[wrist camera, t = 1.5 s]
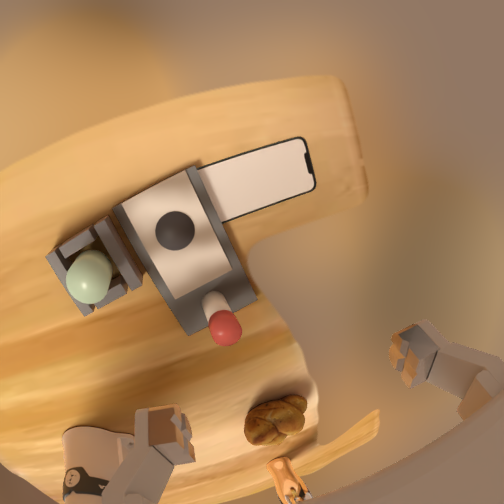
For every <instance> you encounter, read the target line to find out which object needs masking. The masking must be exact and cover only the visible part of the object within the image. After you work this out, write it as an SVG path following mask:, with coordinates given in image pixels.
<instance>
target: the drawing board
mask: <svg viewBox="0 0 504 504" xmlns="http://www.w3.org/2000/svg"><path fill="white" fill-rule="evenodd" d="M112 209H113V211H114V213H115V215H116V217H117V219H118V221H119V223H120V224H121V226H122V228H123V230H124V232H125V234H126V235H127V237H128V239H129V241H130V243H131V244H132V246H133V248H134V250H135V252H136V253H137V255H138V257H139V258H140V260H141V262H142V264H143V265H144V267H145V269H146V270H147V272H148V274H149V275H150V277H151V279H152V280H153V282H154V284H155V285H156V287H157V289H158V290H159V292H160V293H161V295H162V297H163V298H164V300H165V301H166V303H167V305H168V306H169V308H170V309H171V311H172V312H173V314H174V315H175V317H176V319H177V320H178V322H179V323H180V325H181V326H182V328H183V329H184V331H185V332H186V334H187V335H188V336H189V335H191V334H193V333H195V332H197V331H199V330H201V329H203V328H205V327H207V326H208V321H207V318H206V315H205V312H204V310H203V307H202V299H203V297H204V295H205V294H207V293H208V292H211V291H218V292H220V293H222V294H223V296H224V297H225V299H226V301H227V303H228V305H229V307H230V309H231V311H232V313H234V312H236V311H238V310H240V309H242V308H243V307H245V306H247V305H249V304H251V303H253V302H255V301H256V300H258V299H257V297H256V295H255V293H254V291H253V289H252V287H251V285H250V282H249V280H248V278H247V276H246V274H245V272H244V270H243V268H242V266H241V263H240V261H239V259H238V257H237V255H236V253H235V251H234V249H233V246H232V244H231V242H230V240H229V238H228V236H227V234H226V232H225V229H224V227H223V225H222V223H221V221H220V219H219V217H218V214H217V212H216V210H215V208H214V206H213V204H212V201H211V199H210V197H209V195H208V193H207V191H206V188H205V186H204V184H203V182H202V180H201V178H200V175H199V173H198V171H197V169H196V167H195V165H193V166H191V167H189V168H187V169H185V170H183V171H181V172H179V173H177V174H175V175H173V176H171V177H169V178H167V179H165V180H163V181H161V182H159V183H157V184H155V185H153V186H151V187H149V188H147V189H146V190H144V191H142V192H140V193H138V194H136V195H134V196H133V197H131V198H129V199H127V200H125V201H124V202H122V203H120V204H118V205H116V206H115V207H113V208H112Z"/></svg>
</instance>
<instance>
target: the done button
mask: <svg viewBox="0 0 504 504" xmlns="http://www.w3.org/2000/svg"><path fill="white" fill-rule="evenodd" d="M112 274H113V268H112V264H111V262H110V260H109V258H108V257H107V256H106V255H105V254H103V253H102V252H100V251H98V250H86V251H84V252H82V253H81V254H79V256H78V257H77V258H76V260H75V261H74V263H73V264H72V266H71V267H70V269H69V270H68V272H67V275H66V285H67V288H68V290H69V292H70V294H71V295H72V296H73V297H74V298H75V299H76V300H78V301H80V302H82V303H86V304H94V303H97V302H99V301H101V300H102V299H103V298H104V297H105V295H106V294H107V291H108V288H109V285H110V281H111V278H112Z"/></svg>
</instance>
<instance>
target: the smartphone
mask: <svg viewBox="0 0 504 504" xmlns="http://www.w3.org/2000/svg"><path fill="white" fill-rule="evenodd" d="M197 171H198V173H199V175H200V178H201V180H202V182H203V184H204V186H205V188H206V191H207V193H208V195H209V197H210V199H211V201H212V204H213V206H214V208H215V210H216V212H217V214H218V217H219V219H220V221H221V223H222V224H223V223H226V222H228V221H231V220H234V219H236V218H239V217H242V216H244V215H247V214H250V213H253V212H255V211H258V210H261V209H263V208H266V207H269V206H272V205H275V204H277V203H280V202H283V201H286V200H289V199H291V198H294V197H297V196H300V195H303V194H306V193H309V192H311V191H313V190H314V189H315V187H316V179H315V175H314V171H313V167H312V162H311V158H310V155H309V151H308V147H307V143H306V141H305V139H304V138H302V137H295V138H291V139H288V140H284V141H281V142H277V143H274V144H270V145H267V146H263V147H260V148H257V149H254V150H250V151H247V152H244V153H241V154H238V155H235V156H232V157H229V158H225V159H223V160H220V161H217V162H214V163H211V164H208V165H205V166H202V167H199V168H197Z"/></svg>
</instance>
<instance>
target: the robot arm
mask: <svg viewBox="0 0 504 504" xmlns="http://www.w3.org/2000/svg"><path fill="white" fill-rule="evenodd" d="M391 341H392V342H393V344H392V346H391V347H390V348H389V358H390V361H391V364H392V366H393V367H394V368H395V369H396V370H398V371H400V372H401V378H402V380H403V381H404V382H405V384H406V385H407V386H408V388H409V389H411V388H413V387H414V386H416V385H419V384H420V383H422V382H424V381H426V380H427V382H429V383H431V384H433V385H435V386H437V387H439V388H441V389H443V390H445V391H447V392H449V393H451V394H453V395H455V396H457V397H459V398H461V399H462V401H461V403H460V405H459V406H458V408H457V412H458V414H459V415H460V417H461V418H462V419H463V422H461V423H460V424H458V425H457V426H455V427H454V428H453V429H451V430H450V431H448V432H447V433H445V434H444V435H442V436H441V437H439V438H437V439H436V440H434V441H433V442H431V443H429V444H428V445H426V446H425V447H423V448H421V449H419V450H418V451H416V452H414V453H412V454H411V455H409V456H407V457H406V458H403V459H402V460H400V461H398V462H396V463H394V464H392V465H390V466H388V467H386V468H384V469H382V470H380V471H378V472H376V473H374V474H372V475H370V476H367V477H365V478H363V479H360V480H358V481H356V482H354V483H351V484H349V485H346V486H344V487H341V488H339V489H336V490H333V491H331V492H328V493H325V494H322V495H320V496H317V497H314V498H311V499H308V500H304V501H301V502H298V503H295V504H504V362H503V361H502V360H501V359H500V358H499V357H497V356H494V355H491V354H488V353H485V352H482V351H478V350H475V349H472V348H469V347H466V346H463V345H460V344H457V343H454V342H452V343H449V342H448V341H447V340H446V339H445V338H444V337H443V335H442V334H441V333H440V332H439V331H438V330H437V329H436V328H435V327H434V326H433V325H432V324H431V323H430V322H429V321H428V320H426V319H423V320H421V321H419V322H417V323H415V324H412V325H410V326H408V327H406V328H404V329H402V330H400V331H398V332H396V333H394V334H393V335H392V338H391ZM191 438H192V431H191V427H190V424H189V421H188V419H187V417H186V416H185V414H183V413H181V411H180V407H179V406H178V404H177V403H175V404H169V405H163V406H157V407H150V408H143V409H137V410H136V413H135V437H134V436H133V435H131V434H125V433H114V432H110V431H107V430H104V429H100V428H95V427H75V428H72V429H69V430H68V431H66V432H65V433H64V434H63V437H62V443H63V449H64V460H65V478H64V482H63V500H64V502H65V504H158V502H159V500H160V498H161V495H162V493H163V491H164V489H165V487H166V484H167V482H168V480H169V478H170V476H171V473H172V471H173V469H174V465H180V464H186V463H192V462H196V461H195V453H194V447H193V445H192V444H191V443H190V442H189V441H190V439H191Z"/></svg>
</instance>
